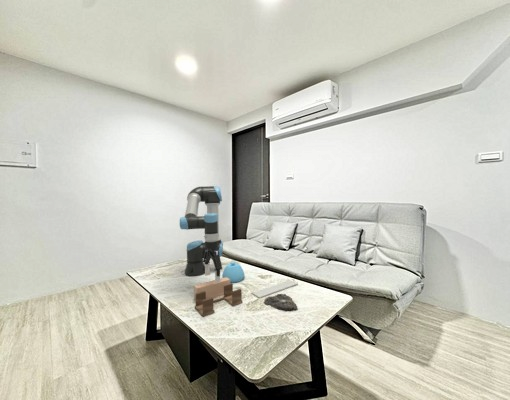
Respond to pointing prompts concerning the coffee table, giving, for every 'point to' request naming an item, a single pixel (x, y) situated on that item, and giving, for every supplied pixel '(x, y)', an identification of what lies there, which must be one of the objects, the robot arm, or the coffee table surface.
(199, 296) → the rack
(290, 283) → the baseboard
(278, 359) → the coffee table surface
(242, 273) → the sugar bowl
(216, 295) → the peach rectangular block
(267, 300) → the dark grey rock
